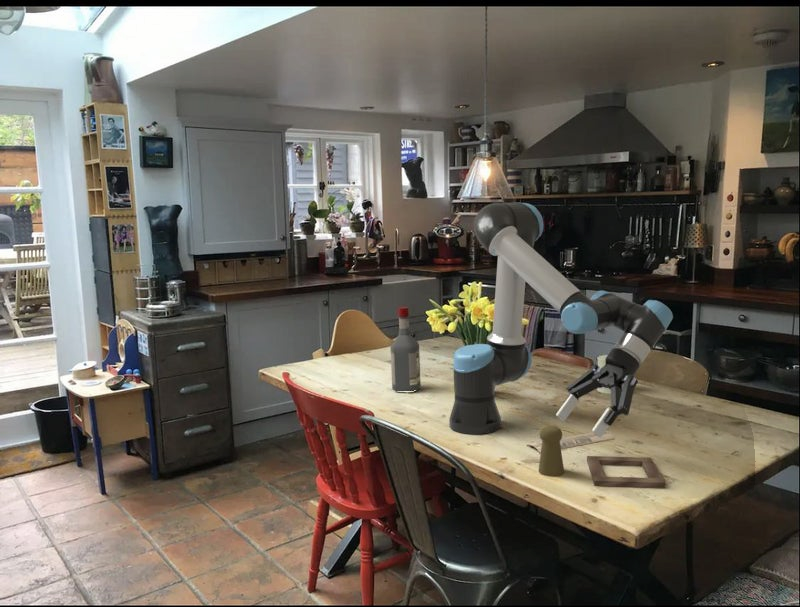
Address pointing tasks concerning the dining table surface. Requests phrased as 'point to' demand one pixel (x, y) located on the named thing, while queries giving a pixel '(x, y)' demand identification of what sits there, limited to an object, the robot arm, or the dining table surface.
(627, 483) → the cutout board
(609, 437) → the newspaper
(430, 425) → the dining table surface
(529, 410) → the dining table surface
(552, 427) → the olive pawn
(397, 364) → the liquor
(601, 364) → the can
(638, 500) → the dining table surface
